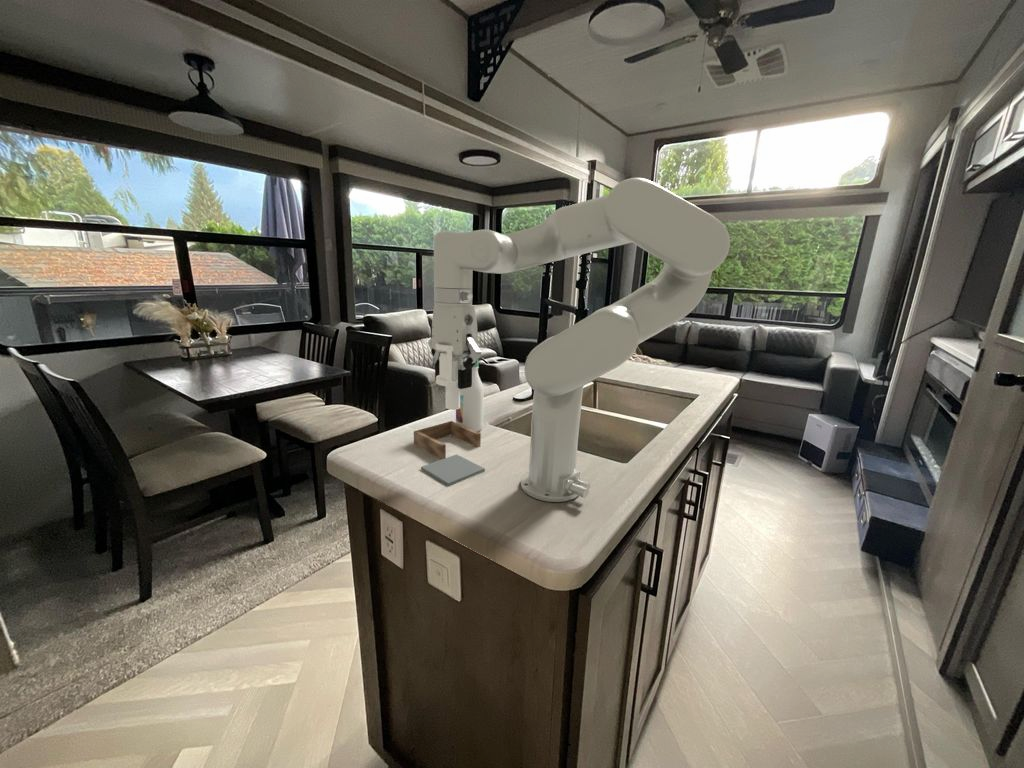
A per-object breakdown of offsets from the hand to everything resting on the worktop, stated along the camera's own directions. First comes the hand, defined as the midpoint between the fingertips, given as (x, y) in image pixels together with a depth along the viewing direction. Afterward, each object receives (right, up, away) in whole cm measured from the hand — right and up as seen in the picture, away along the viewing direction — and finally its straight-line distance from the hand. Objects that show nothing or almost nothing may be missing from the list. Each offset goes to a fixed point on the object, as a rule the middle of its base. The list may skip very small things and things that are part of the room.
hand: (453, 383), depth 84 cm
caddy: (-4, -16, +18) cm, 24 cm away
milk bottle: (0, -13, +30) cm, 33 cm away
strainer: (0, -5, +1) cm, 5 cm away
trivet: (-1, -19, +5) cm, 20 cm away
